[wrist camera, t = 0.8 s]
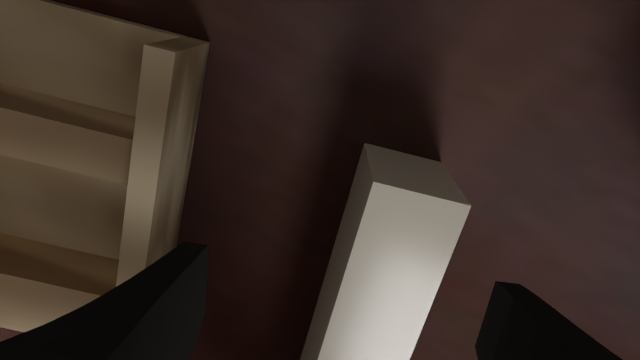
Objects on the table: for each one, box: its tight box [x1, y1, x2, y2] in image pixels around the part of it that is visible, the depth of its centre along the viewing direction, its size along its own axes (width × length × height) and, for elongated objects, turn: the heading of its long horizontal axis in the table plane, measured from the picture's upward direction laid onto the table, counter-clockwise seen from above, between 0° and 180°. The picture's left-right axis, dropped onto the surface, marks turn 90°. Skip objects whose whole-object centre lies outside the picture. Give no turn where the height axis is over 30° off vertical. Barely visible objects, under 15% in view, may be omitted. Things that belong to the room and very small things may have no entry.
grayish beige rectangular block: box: [300, 143, 471, 360], centre depth 20 cm, size 13×4×5 cm, turn 166°
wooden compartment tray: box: [0, 0, 210, 332], centre depth 19 cm, size 16×10×4 cm, turn 166°
